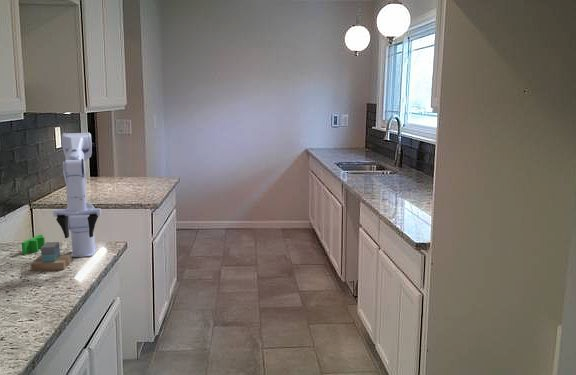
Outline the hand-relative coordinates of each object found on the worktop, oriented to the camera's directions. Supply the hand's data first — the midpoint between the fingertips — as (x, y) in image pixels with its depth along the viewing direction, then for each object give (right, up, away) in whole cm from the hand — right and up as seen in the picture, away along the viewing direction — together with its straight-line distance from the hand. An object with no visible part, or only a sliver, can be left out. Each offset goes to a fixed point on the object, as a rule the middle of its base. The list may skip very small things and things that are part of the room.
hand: (79, 237), depth 173 cm
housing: (-10, -8, +2) cm, 13 cm away
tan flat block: (-10, -10, +3) cm, 15 cm away
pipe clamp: (-24, -7, +21) cm, 33 cm away
